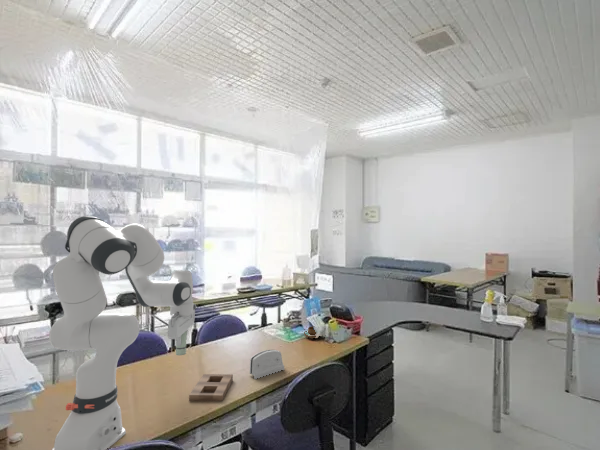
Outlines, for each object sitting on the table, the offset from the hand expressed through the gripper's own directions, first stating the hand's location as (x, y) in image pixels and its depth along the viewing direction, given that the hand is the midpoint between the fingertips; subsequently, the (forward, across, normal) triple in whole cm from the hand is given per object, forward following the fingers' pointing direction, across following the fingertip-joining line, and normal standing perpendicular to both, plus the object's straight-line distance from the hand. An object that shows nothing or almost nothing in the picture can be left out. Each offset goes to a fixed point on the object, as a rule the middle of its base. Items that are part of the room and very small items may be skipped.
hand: (181, 342), depth 137 cm
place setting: (+20, +76, -56) cm, 97 cm away
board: (+20, +2, -12) cm, 24 cm away
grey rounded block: (+21, +19, -33) cm, 44 cm away
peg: (+4, 0, 0) cm, 4 cm away
